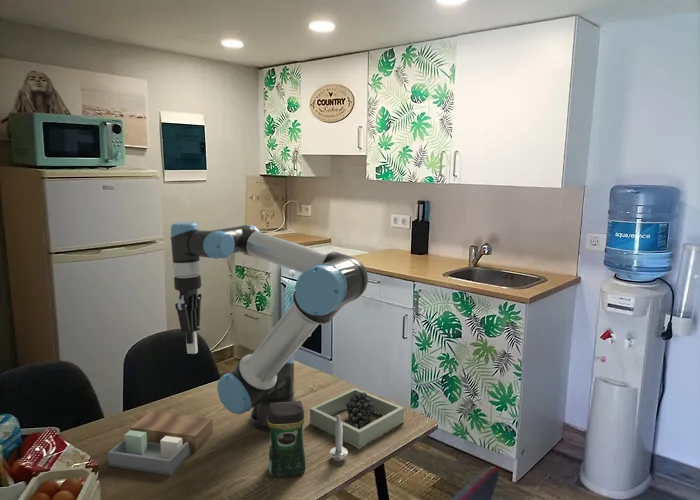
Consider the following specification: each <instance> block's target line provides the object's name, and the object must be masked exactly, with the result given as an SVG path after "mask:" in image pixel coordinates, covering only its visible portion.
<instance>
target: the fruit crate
mask: <svg viewBox="0 0 700 500" xmlns="http://www.w3.org/2000/svg"><path fill="white" fill-rule="evenodd" d="M359 392H360V393H363V392H365V393H366V394H367V397H368V398H369V399H370V403H372V404H373V407H372V408H371V409H373V411H374V412H376V413H379V414H381V415H384V416H381V415H380V416H381V417H379V418H377V419H375V420H374V421H372V422H370V423H368V424H365V426H364V427H360V429H357V428H355V427H353V426H351V425H349V424H348V422H347V423H346V422H345V421H343V420H341V423H342V441H343V440H344V441H343V442H345V441H346V442H345V443H347V442H348V443H351V444H353V445H355V446H357V447H358V448H360V447H362V446H363V445H365V444H367V443H368V442H370V441H372V440H374V439H375V438H377V437H379V436H380V435H382V434H384V433H385V432H387V431H388V430H390V429H392V428H394V427H396V426H397V425H399V424H400V423H402V422H403V423H404V418H405V417H404V414H405V407H403V406H401V405H397V404H395V403H393V402H390V401H388V400H385V399H384V398H382V397H378V396H376V395H374V394H371V393H368V392H366V391H364V390H361V389H359V388H357V387H354V388H351V389H349V390H347V391H345V392H343V393H341V394H338V395H337V396H334V397H332V398H330V399H328V400H325V401H323V402H321V403H319V404H316V405H315V406H313V407H310V408H309V424H310V425H312V426H314V427H315V426H316V428H317V427H318V429H319V428H320V430H321V429H322V430H321V431H323V430H324V431H323V432H325V431H326V432H325V433H327V432H328V433H327V434H329V433H330V434H329V435H331V434H332V436H333V435H334V436H333V437H334V438H336V422H337V417H334V415H336V414H338V413H340V412H342V411H344V410H346V409H348V408H347V406H346V404H347V403H348V402H350V399H351V397H352V396H355V395H356V394H357V393H359ZM360 401H361V400H360ZM360 401H358V402H360ZM345 408H346V409H345ZM343 409H344V410H343ZM341 410H342V411H341ZM339 411H340V412H339ZM337 412H338V413H337ZM335 413H336V414H335ZM376 413H375V414H376ZM333 414H334V415H333ZM379 414H378V415H379ZM331 415H332V416H331ZM399 426H400V425H399ZM396 428H397V427H396ZM394 429H395V428H394ZM392 430H393V429H392ZM387 433H388V432H387ZM384 435H385V434H384ZM382 436H383V435H382ZM379 438H380V437H379ZM377 439H378V438H377ZM375 440H376V439H375ZM375 440H374V441H375ZM372 442H373V441H372ZM348 443H347V444H348ZM370 443H371V442H370ZM367 445H368V444H367ZM365 446H366V445H365ZM358 448H357V449H358ZM362 448H363V447H362ZM360 449H361V448H360Z"/></svg>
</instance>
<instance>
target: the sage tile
mask: <svg viewBox="0 0 700 500" xmlns="http://www.w3.org/2000/svg"><path fill="white" fill-rule="evenodd" d="M124 439H125V448H126V452H131V453H138V454H143V453H144V452H145V451H146V450H147V449H148V448H147V432H140V431H133V430H130V429H129V431H127V432H126V433H125V434H124Z"/></svg>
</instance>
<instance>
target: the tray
mask: <svg viewBox="0 0 700 500" xmlns="http://www.w3.org/2000/svg"><path fill="white" fill-rule="evenodd" d="M147 448H148V449H147V450H146V451H145V452H144V453H143V454H138V453H131V452H126V448H125V438H123V439H122V440H121V441H120V442H119V443H117V444H115V446H114V447H112V448H111V449H110V450H109V451H108V452H107V462H108V467H109V466H112V467H111V468H116V467H119V468H118V469H122V468H123V469H124V470H131V471H137V472H144V473H151V474H156V475H164V476H170V477H171V476H172V475H173V474H174V473H175V472H176V471H177V469H179V468H180V466H181V465H183V464H184V463H185V461H186V460H187V459H188V458H189V457H190V456H191V454H192V452H191V448H190V447H189V442H185V443H184V444H183V445H182V447H181V448H180V449H179V450H178V451H177V452H176V453H175V454H174V455H173V456H172V457H171V458H170V459H166V458H161V445H160V443H153V442H147ZM123 469H122V470H123Z"/></svg>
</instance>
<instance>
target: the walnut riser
mask: <svg viewBox="0 0 700 500" xmlns="http://www.w3.org/2000/svg"><path fill="white" fill-rule="evenodd" d="M130 430H133V431H140V432H147V442H153V443H160V440H161V439H163V438H164V437H165V436H171V437H178V438H182V442H183V444H184V443H185V442H189V447H190V448H191V453H197V452H199V450H200V449H201V448H202V447H203V446H204V445H205V443H207V442H208V441H209V440H210V438H212V436H213V435H214V429H213V418H212V417H204V416H203V417H202V416H195V415H194V416H193V415H184V414H180V413H170V412H162V411H154V410H151V411H149V412H148V413H147V414H145V415H144V416H143V417H142V418H141V419H139V420H138V421H137V422H135V423H134V424H133V425H132V426H130V429H129V431H130Z"/></svg>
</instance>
